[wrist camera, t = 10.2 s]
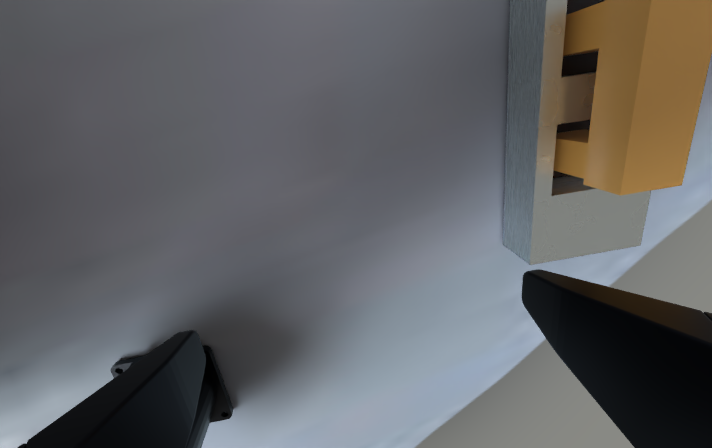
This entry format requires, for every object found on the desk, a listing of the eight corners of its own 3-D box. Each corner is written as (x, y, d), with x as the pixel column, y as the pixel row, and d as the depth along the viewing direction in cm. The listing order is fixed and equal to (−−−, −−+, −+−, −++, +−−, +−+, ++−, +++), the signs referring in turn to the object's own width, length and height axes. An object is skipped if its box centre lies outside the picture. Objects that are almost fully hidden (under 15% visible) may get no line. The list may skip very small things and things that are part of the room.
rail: (600, 228, 23) (640, 245, 20) (502, 244, 22) (529, 265, 19) (648, -107, 16) (717, -152, 13) (512, -92, 16) (554, -135, 13)
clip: (580, 162, 21) (681, 185, 15) (534, 170, 21) (620, 195, 15) (596, 9, 18) (731, -37, 12) (544, 16, 18) (655, -27, 12)
